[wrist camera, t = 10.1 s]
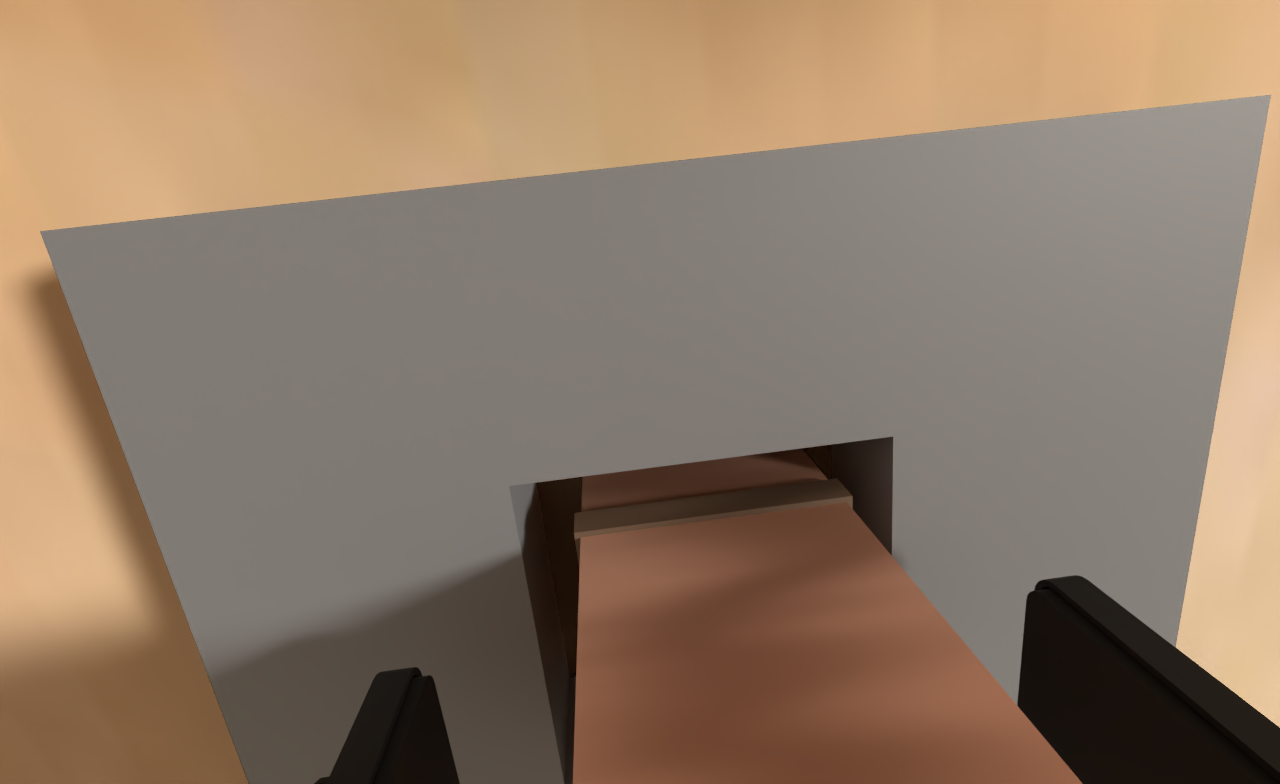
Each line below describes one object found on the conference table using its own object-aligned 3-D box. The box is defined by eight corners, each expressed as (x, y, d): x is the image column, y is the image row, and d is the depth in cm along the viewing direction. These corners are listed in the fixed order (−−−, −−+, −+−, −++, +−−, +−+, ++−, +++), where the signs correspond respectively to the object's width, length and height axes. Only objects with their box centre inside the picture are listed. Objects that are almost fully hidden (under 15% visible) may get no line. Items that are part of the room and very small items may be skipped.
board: (1114, 118, 12) (1271, 95, 10) (1046, 756, 17) (1136, 868, 14) (174, 223, 12) (40, 231, 9) (374, 857, 17) (328, 996, 14)
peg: (792, 427, 14) (1232, 931, 4) (799, 609, 15) (1144, 1293, 6) (577, 454, 14) (546, 1043, 4) (604, 637, 15) (627, 1388, 6)
